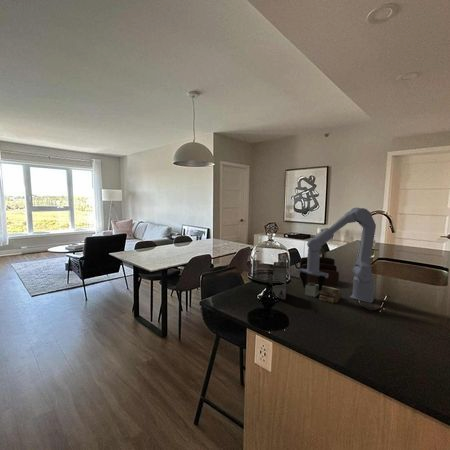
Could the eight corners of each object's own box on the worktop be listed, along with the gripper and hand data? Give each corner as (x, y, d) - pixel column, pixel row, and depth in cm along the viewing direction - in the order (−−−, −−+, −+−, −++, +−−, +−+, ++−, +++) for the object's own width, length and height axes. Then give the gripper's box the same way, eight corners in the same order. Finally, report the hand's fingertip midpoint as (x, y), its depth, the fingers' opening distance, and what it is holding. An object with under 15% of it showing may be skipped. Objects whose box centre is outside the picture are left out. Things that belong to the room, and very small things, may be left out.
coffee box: (272, 291, 131) (273, 261, 130) (285, 292, 130) (286, 262, 129) (272, 298, 123) (273, 266, 121) (286, 299, 121) (287, 266, 120)
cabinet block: (318, 294, 128) (319, 282, 128) (314, 297, 124) (315, 285, 124) (308, 292, 131) (309, 280, 131) (305, 294, 128) (305, 283, 127)
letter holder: (299, 278, 154) (300, 256, 152) (333, 280, 152) (334, 257, 150) (302, 284, 144) (303, 259, 143) (338, 285, 142) (340, 261, 140)
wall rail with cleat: (341, 297, 124) (341, 289, 123) (335, 303, 116) (335, 295, 116) (312, 290, 133) (312, 283, 133) (305, 296, 126) (305, 288, 125)
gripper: (296, 261, 128) (295, 287, 129) (325, 266, 119) (324, 294, 120) (301, 259, 133) (301, 284, 135) (330, 263, 124) (329, 290, 126)
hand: (312, 288), depth 128 cm, fingers open, 7 cm apart
